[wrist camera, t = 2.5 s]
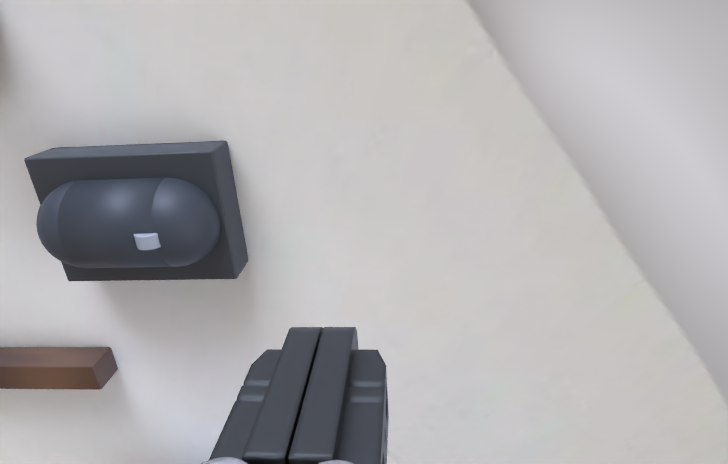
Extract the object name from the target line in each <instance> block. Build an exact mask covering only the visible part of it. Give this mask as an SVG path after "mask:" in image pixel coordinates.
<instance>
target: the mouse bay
mask: <svg viewBox="0 0 728 464" xmlns="http://www.w3.org/2000/svg"><path fill="white" fill-rule="evenodd" d="M117 369H118V368H117V365H116V362H115V360H114V357H113V354H112V351H111V348H0V389H102V388H103V387H104V385H105V384H106V383H107V382H108V381H109V379H110V378H111V377H112V376H113V374H114V373H115V372H116V371H117Z"/></svg>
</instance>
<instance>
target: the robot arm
mask: <svg viewBox="0 0 728 464" xmlns="http://www.w3.org/2000/svg"><path fill="white" fill-rule="evenodd" d="M387 437H388V397H387V377H386V365H385V363H384V361H383V359H382V357H381V355H380V354H379V352H378V350H358V340H357V330H356V327H324V328H322V327H291V328H290V329H289V332H288V334H287V337H286V339H285V342H284V345H283V347H282V350H266V351H265V352H264V353H263V354H262V355H261V356H260V357H259V358H258V359H257V360H256V361H255V362H254V363H253V364H252V365H251V367H250V370H249V372H248V374H247V376H246V378H245V381H244V386H242V387H241V390H240V392H239V394H238V396H237V401H235V403H234V405H233V407H232V410H231V412H230V414H229V416H228V419H227V421H226V423H225V425H224V428H223V430H222V432H221V434H220V436H219V439H218V441H217V443H216V445H215V448H214V450H213V452H212V454H211V457H210V459H209V461H206V462H204V463H202V464H386V463H387Z"/></svg>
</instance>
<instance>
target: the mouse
mask: <svg viewBox="0 0 728 464" xmlns="http://www.w3.org/2000/svg"><path fill="white" fill-rule="evenodd" d="M25 163H26V166H27V168H28V171H29V174H30V177H31V179H32V182H33V185H34V188H35V190H36V193H37V196H38V199H39V201H40V204H41V206H40V208H39V211H38V215H37V232H38V235H39V238H40V240H41V242H42V244H43V245H44V247H45V248H46V249H47V250H48V252H49V253H50V254H51V255H53V256H54V257H55V258H57V259H59V260H60V261H61V262H62V265H63V267H64V270H65V273H66V276H67V278H68V280H69V281H111V280H185V279H236V278H237V277H238V276H239V274H240V273H241V271H242V270H243V268H244V267H245V265H246V263H247V262H248V255H247V250H246V244H245V239H244V233H243V227H242V222H241V216H240V211H239V205H238V200H237V194H236V188H235V183H234V177H233V172H232V166H231V160H230V155H229V149H228V144H227V141H211V142H187V143H163V144H139V145H115V146H91V147H67V148H52V149H49V150H47V151H44V152H41V153H38V154H36V155H33V156H30V157H27V158H25Z"/></svg>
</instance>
